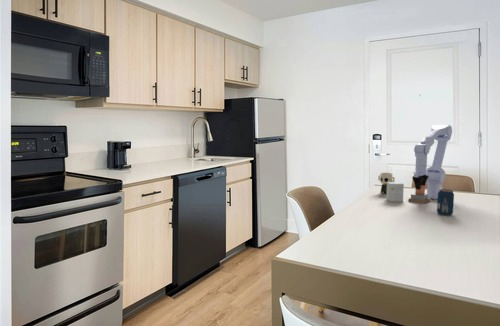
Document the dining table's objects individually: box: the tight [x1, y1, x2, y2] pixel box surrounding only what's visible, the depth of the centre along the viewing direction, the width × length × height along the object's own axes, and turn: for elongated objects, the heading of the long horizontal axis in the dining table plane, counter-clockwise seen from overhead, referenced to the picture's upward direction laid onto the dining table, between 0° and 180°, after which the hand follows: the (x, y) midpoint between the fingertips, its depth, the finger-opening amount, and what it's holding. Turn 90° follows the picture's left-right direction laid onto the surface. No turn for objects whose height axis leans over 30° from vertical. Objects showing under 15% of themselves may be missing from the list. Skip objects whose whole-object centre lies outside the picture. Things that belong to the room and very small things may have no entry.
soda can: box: [436, 188, 455, 217], centre depth 174 cm, size 7×7×12 cm
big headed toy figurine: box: [377, 172, 395, 195], centre depth 227 cm, size 11×7×13 cm, turn 40°
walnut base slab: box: [407, 197, 432, 205], centre depth 204 cm, size 9×9×2 cm
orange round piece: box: [414, 185, 426, 195], centre depth 203 cm, size 5×5×5 cm
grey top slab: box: [410, 192, 428, 200], centre depth 204 cm, size 7×7×2 cm
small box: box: [385, 181, 405, 203], centre depth 206 cm, size 8×6×10 cm
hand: (420, 188), depth 203 cm, fingers open, 6 cm apart
